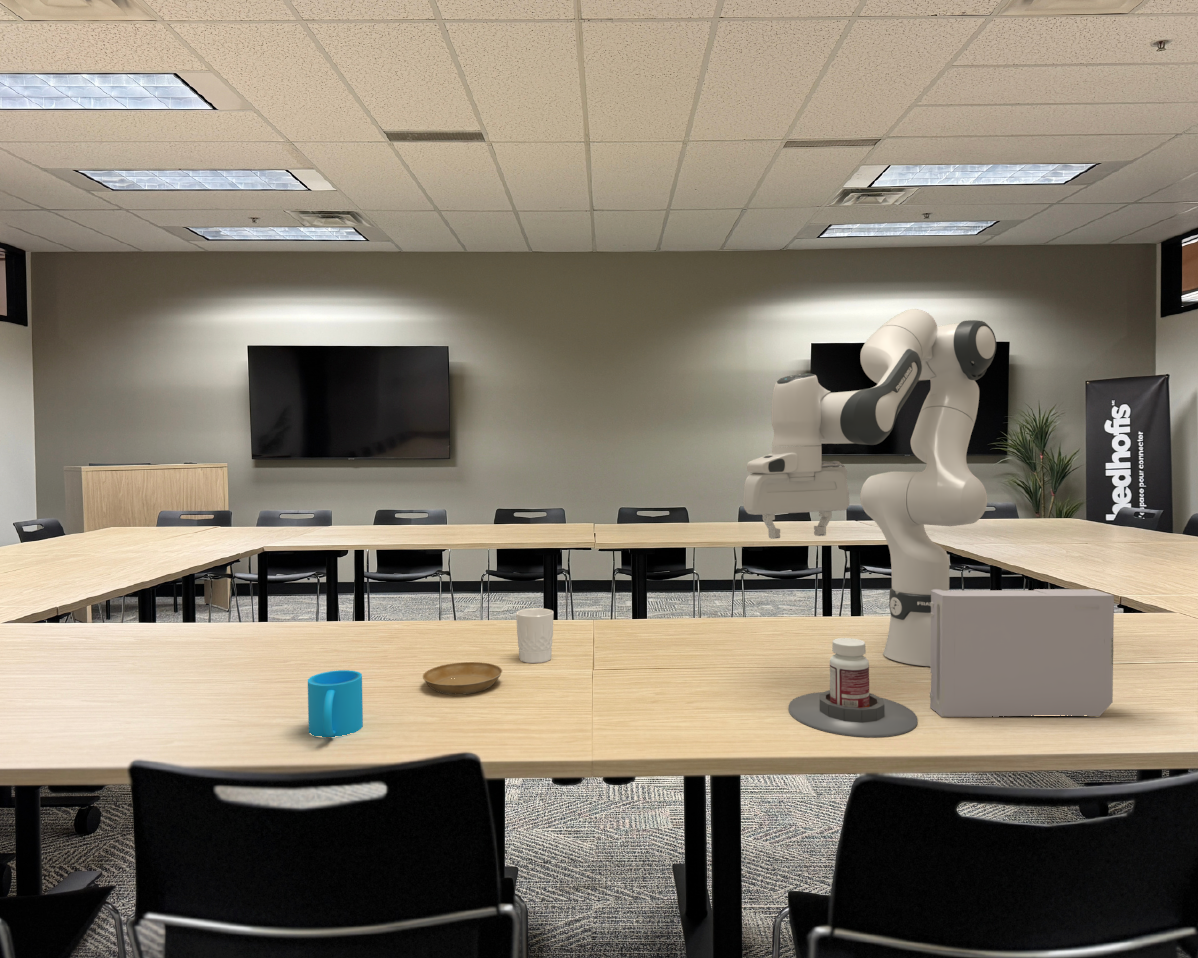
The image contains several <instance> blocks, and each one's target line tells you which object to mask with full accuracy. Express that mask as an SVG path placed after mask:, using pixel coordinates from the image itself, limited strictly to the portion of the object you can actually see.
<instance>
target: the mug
mask: <svg viewBox="0 0 1198 958" xmlns="http://www.w3.org/2000/svg"><path fill="white" fill-rule="evenodd" d="M363 704H364V703H363V674H362V673H361V672H360V671H356V670H346V669H343V670H330V671H323V672H320V673H317V674H314V675H312V676H310V677H309V678H308V679H307V708H308V709H307V710H308V711H307V713H308V721H307V722H308V734H309V733H311V734H312V735H314V736H322V737H335V736H342V735H346V736H348V735H347V734H350V733H353V734H355V733H358V732H359V731H361V729H362V728H363V727H364V716H363V715H364V713H363V710H364V707H363ZM350 735H351V734H350ZM314 736H313V737H314ZM342 737H343V736H342Z"/></svg>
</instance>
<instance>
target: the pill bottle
mask: <svg viewBox="0 0 1198 958" xmlns="http://www.w3.org/2000/svg"><path fill="white" fill-rule="evenodd" d="M831 644H832V645H831V646H832V647H831V648H832V653H834V654H833V655H832V656H830V658H829V690H830V702H832V703H833V704H837V705H841V706H845V707H857V708H862V707H869V706H870V704H869V693H870V663H869V660H868V658H867V657H866V656H864V655H866V642H865V641H864V640H861V639H859V638H858V639H857V638H849V637H838V638H835V639H832V643H831Z"/></svg>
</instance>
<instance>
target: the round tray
mask: <svg viewBox="0 0 1198 958" xmlns="http://www.w3.org/2000/svg"><path fill="white" fill-rule="evenodd" d="M869 704H870V706H869V707H862V708H857V707H845V706H841V705H837V704H833V703H832V702H830V689H829V690H825V691H821V692H819V691H818V692H813V693H806V694H803V695H799V696H796V697H795V698H793V699H792V700H790V702H789V703H788V713H789V714H790V716H791V717H792V718H793V719H794V720H795V721H797V722H799V723H801V724H802V725H805V726H806V727H809V728H812V729H815V730H818V731H822V732H825V733H829V734H835V735H841V736H846V737H856V738H858V737H859V738H886V737H888V738H889V737H896V736H899V735H903V734H907V733H909V732H911V731H913V730H914V729H916V727H917V725H918V716H917V715H916V713H915V712H914V711H913V710H912V709H910V708H909V707H907V706H906V705H903V704H901V703H899V702H896V701H894V700H891V699H887V698H884V697H880V696H878V695H876V694H874V693H871V692H869Z"/></svg>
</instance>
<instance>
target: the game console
mask: <svg viewBox="0 0 1198 958" xmlns="http://www.w3.org/2000/svg"><path fill="white" fill-rule="evenodd" d="M930 606H931V613H930V616H931V666H930V674H931V679H930V681H931V682H930V692H929V700H930V701H929V702H930V703H929V705H930V706H929V707H930V709H932V710H933V711H934V712H935V711H936V712H935V713H937V714H938V715H939V716H940V717H942V718H947V717H949V718H951V717H954V718H958V717H959V718H961V717H962V718H963V717H964V718H965V717H967V718H972V717H973V718H974V717H975V718H983V717H984V718H990V717H991V718H1000V717H999V716H1003V717H1002V718H1005V717H1004V716H1031V715H1032V716H1034V715H1060V716H1061V715H1065V716H1067V715H1068V716H1071V715H1072V716H1084V715H1087V716H1099V717H1100V716H1101V715H1102V714H1103V713H1105V711H1107V709H1108V708H1109V707H1110V706H1111V705H1112V704H1113V700H1114V699H1113V696H1114V695H1113V693H1114V692H1113V691H1114V688H1113V687H1114V685H1113V684H1114V631H1115V630H1114V629H1115V627H1114V626H1115V625H1114V624H1115V623H1114V621H1115V620H1114V618H1115V617H1114V616H1115V615H1114V613H1115V609H1114V608H1115V595H1114V594H1110V593H1108V592H1105V591H1101V590H1097V589H1092V588H1088V589H1085V588H1084V589H1080V588H1079V589H1076V588H1075V589H1072V588H1069V589H1066V588H1064V589H1061V588H1058V589H1057V588H1055V589H1053V588H1052V589H1051V588H1050V589H1048V588H1046V589H1045V588H1043V589H1040V588H1038V589H1037V588H1036V589H1035V588H1034V589H1033V590H1032V589H1031V590H1027V589H1026V590H1024V589H1022V590H1020V589H1019V590H1013V589H1011V590H1007V589H1006V590H1003V589H1001V590H999V589H998V590H997V589H995V590H993V589H992V590H988V589H987V590H984V589H983V590H981V589H980V590H979V589H978V590H975V589H974V590H949V591H942V590H940V589H934V590H931V604H930ZM992 716H993V717H992Z"/></svg>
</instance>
